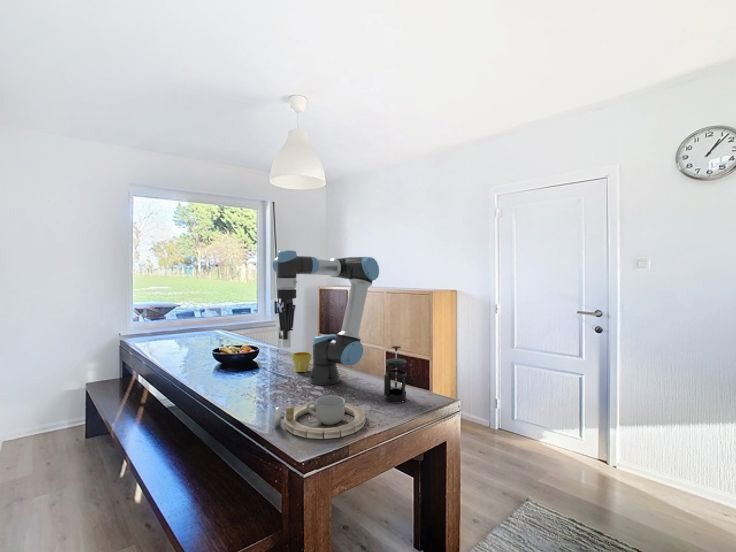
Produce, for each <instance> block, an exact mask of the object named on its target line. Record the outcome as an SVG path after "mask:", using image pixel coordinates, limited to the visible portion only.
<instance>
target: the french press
mask: <svg viewBox="0 0 736 552" xmlns="http://www.w3.org/2000/svg"><path fill="white" fill-rule="evenodd" d="M391 349H394V351H395V358H394V357H393V358H387V359H385V362H386V367H388V368H392V369H388V370H386V371H385V374H384V379H383V382H384V384H383V386H384V387H383V391H384V392H383V394H384V395H383V396H385V397H384V400H385V401H386V400H387V401H389V402H388V403H390V402H402V401H406V400H407V391H406V386H407V385H406V377H407V370H403V369H402V368H405V367H406V363H407V362H408V361H407V360H406V359H404V358H397V356H398V355H397V354H398V349H402V347H401V346H398V345H393V346H391ZM392 373H400V374H392ZM393 378H394V379H400V382H399V381H392V379H393ZM387 401H386V402H387ZM406 402H407V401H406Z"/></svg>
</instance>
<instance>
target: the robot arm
mask: <svg viewBox="0 0 736 552" xmlns="http://www.w3.org/2000/svg"><path fill="white" fill-rule="evenodd" d="M297 254H298V253H297V251H296V250H284V249H283V250H279V251H278V252H277V257H276V258H275V259H274V260H273V261H272V270H273V271H274V272H275V274H276V275H277V276H276V277H277V280H276V281H277V283H276V284H277V286H276V287H277V288H278V289H277V293H276V297H277V299H279V300H280V304H279V305H280V306H277V312H278V322H279V331H280V332H282V348H287V349H288V348H291V340H292V339H291V337H292V335H291V333H292V332H291V331H293V330H294V321H295V320H294V319H295V311H296V307H297V305H296V304H294V299H296V298H297V289H296V288H297V284H298V280H297V275H314V276H315V275H316V276H318V275H319V276H330V277H331V278H340V279H345V280H348V282H349V283H350V289H349V292H348V297H347V303H346V307H345V311H344V316H343V322H342V326H341V329H340V332H338V333H337V334H334V333H333V334H332V333H331V334H323V335H316V336H315V337H313V343H312V369H311V372H310V375H309V383H310V384H312V385H316V386H332V385H337V384H339V383H340V380H341V375H340V373H339V370H338V365H337V364H339V365H344V366H355V365H357V364H358V363H360V361H361V359H362V357H363V355H364V354H363V353H364V346H363V343H362V342H361V337H360V336H359V333H360V328H361V323H362V318H363V314H364V309H365V305H366V304H365V303H366V299H367V295H368V289H369V287H371V286H372V284H373V281H376V280H377V279H378V278H379V277H380V267H379V263H378V261H377V260H376V259H375V258H374V257H372V256H354V257H353V256H350V257H340V258H331V259H318V258H317V257H315V256H310V255H308V256H307V255H305V256H304V255H299V256H298V255H297Z"/></svg>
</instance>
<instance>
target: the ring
mask: <svg viewBox="0 0 736 552" xmlns="http://www.w3.org/2000/svg"><path fill="white" fill-rule="evenodd" d="M307 404H308V403H306V404H302V405H298V406H297V407H295V406H287V407H285V411H286V412H285V415H284V428H285V430H287V431H288V432H289V433H290V434H292V435H295V436H298V437H302V438H307V439H317V440H323V439H324V440H326V439H335V438H341V437H346V436H348V435H352V434H355V433H356V432H358V431H359V430H361V429H362V428H363V427H364V426H365V424H366V421H367V420H366V416H367V415H366V412H365V411H364V410H363V409H362V408H360V407H358V406H356V405H354V404H350V403H346V402H345V411H344V413H347V414H349V415H350V416H352V417H353V418H354V419H353V420H351V421H350V422H348V423H345V424H342V425H339V426H335V427H324V428H323V427H311V426H308V425H307V426H306V425H303V424H301V423H299V422H298V421H297V419H298V418H299V417H301V416H303V415H305V414H308V413H309V412H308V410H307ZM309 408H310V409H311V410H312V411H314V412H316V408H315V406H314V405H313V404H311V405H310V406H309Z"/></svg>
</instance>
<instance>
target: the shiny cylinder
mask: <svg viewBox="0 0 736 552" xmlns="http://www.w3.org/2000/svg"><path fill="white" fill-rule="evenodd" d="M273 409H274V420H273V422H274V427H273V428H274V430H280V428H281V429H282V420H285V415H282V410H283V409H282V407H281V406H275V407H274V408H273Z"/></svg>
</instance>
